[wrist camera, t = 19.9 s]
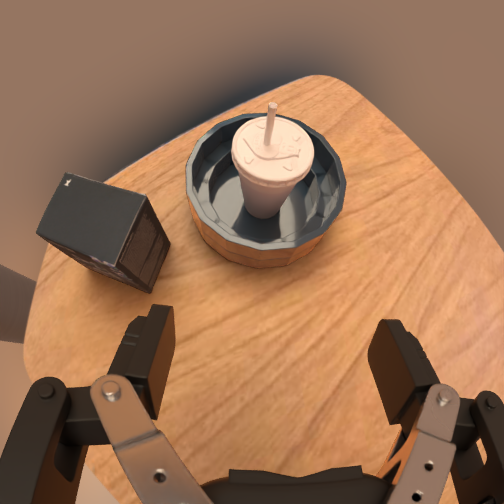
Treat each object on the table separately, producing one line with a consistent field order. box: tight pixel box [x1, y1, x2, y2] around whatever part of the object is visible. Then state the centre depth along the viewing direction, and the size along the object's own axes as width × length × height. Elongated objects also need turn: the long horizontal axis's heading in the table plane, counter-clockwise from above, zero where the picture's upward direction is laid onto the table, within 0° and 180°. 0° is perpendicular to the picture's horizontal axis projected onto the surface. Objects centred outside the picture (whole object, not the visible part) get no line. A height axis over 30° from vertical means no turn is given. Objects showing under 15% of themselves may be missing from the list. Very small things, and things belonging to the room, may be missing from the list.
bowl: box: [186, 113, 346, 268], centre depth 30 cm, size 14×14×6 cm
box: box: [36, 172, 170, 293], centre depth 25 cm, size 8×6×11 cm
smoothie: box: [231, 102, 314, 219], centre depth 26 cm, size 6×6×14 cm
